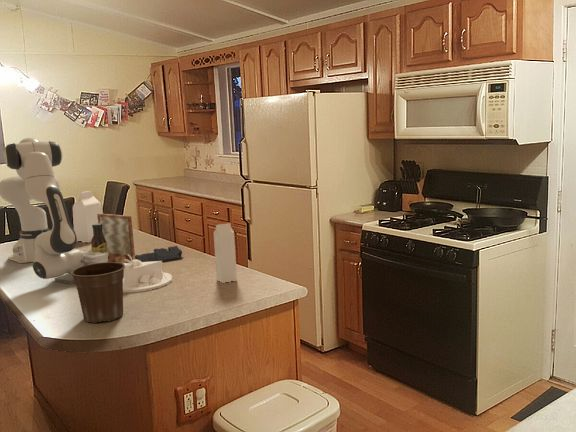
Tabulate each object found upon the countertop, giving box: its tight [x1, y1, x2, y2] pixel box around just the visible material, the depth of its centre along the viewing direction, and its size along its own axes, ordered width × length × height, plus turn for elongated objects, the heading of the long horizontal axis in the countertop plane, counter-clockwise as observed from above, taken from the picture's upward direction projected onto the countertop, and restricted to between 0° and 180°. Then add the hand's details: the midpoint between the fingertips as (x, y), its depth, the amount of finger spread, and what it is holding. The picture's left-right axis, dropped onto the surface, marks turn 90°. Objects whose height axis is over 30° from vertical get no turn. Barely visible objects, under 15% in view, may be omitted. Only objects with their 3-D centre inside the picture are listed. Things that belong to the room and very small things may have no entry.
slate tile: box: [54, 273, 75, 285], centre depth 226 cm, size 10×10×1 cm
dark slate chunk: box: [134, 245, 184, 264], centre depth 253 cm, size 15×22×5 cm
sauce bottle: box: [90, 223, 108, 262], centre depth 236 cm, size 6×6×20 cm
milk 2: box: [213, 222, 238, 284], centre depth 213 cm, size 6×6×22 cm
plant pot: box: [71, 262, 125, 324], centre depth 179 cm, size 16×16×16 cm
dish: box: [123, 254, 173, 294], centre depth 217 cm, size 25×25×11 cm
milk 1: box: [72, 190, 104, 243], centre depth 299 cm, size 12×12×26 cm
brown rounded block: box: [115, 256, 126, 264], centre depth 239 cm, size 4×4×5 cm
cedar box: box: [84, 213, 136, 266], centre depth 237 cm, size 20×18×22 cm
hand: (101, 252), depth 237 cm, fingers closed on sauce bottle, 6 cm apart
